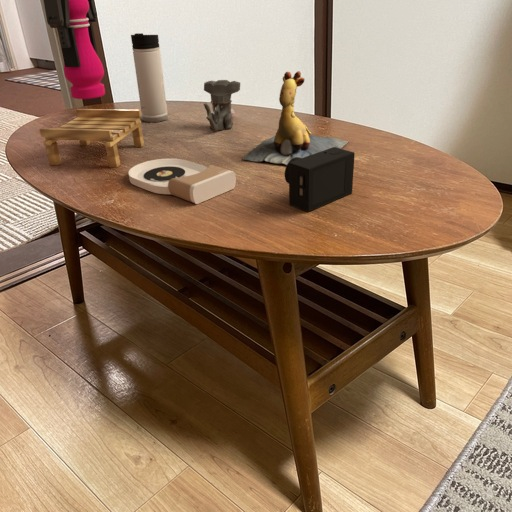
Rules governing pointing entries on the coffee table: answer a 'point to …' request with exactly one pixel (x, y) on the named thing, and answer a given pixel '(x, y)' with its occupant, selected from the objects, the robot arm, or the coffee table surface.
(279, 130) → the stuffed giraffe
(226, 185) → the record player
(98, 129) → the rack
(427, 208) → the coffee table surface
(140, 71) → the travel mug
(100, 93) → the pepper mill
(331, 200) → the digital camera
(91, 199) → the coffee table surface
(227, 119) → the grey flared upright piece
